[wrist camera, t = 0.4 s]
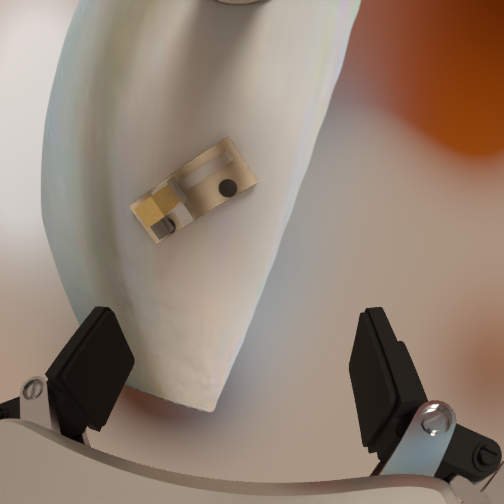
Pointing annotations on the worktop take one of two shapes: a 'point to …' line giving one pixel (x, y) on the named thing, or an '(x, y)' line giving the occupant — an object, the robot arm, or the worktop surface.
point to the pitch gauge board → (203, 185)
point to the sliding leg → (165, 204)
